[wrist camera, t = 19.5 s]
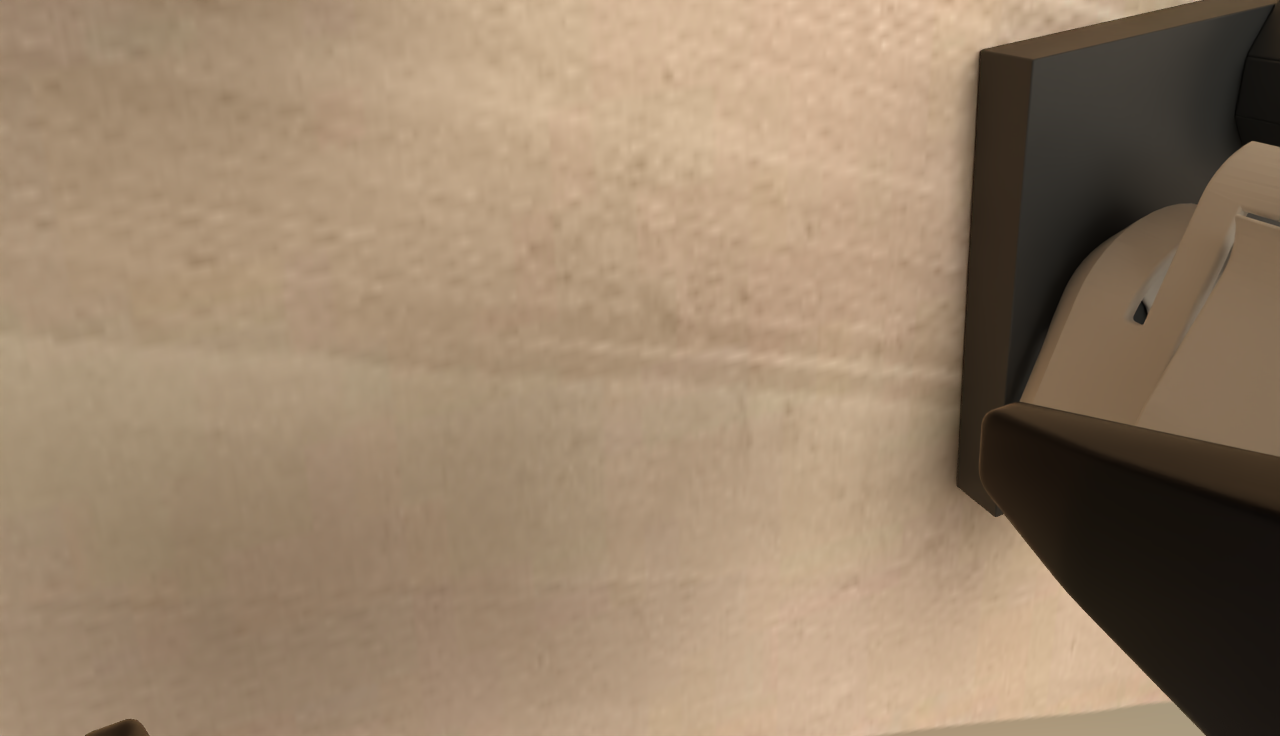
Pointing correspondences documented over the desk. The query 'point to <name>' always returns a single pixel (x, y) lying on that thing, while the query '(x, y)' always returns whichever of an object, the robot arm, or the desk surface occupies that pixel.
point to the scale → (1095, 166)
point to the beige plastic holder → (1179, 317)
